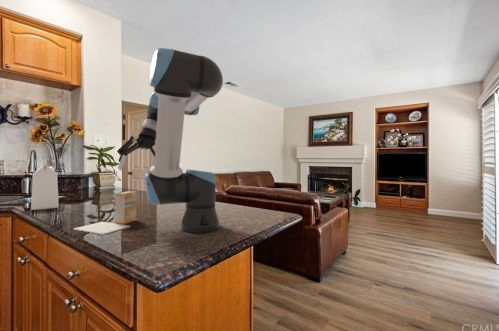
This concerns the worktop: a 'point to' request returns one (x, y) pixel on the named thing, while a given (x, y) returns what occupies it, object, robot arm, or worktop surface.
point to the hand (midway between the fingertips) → (135, 171)
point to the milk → (44, 188)
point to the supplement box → (125, 207)
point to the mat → (102, 228)
